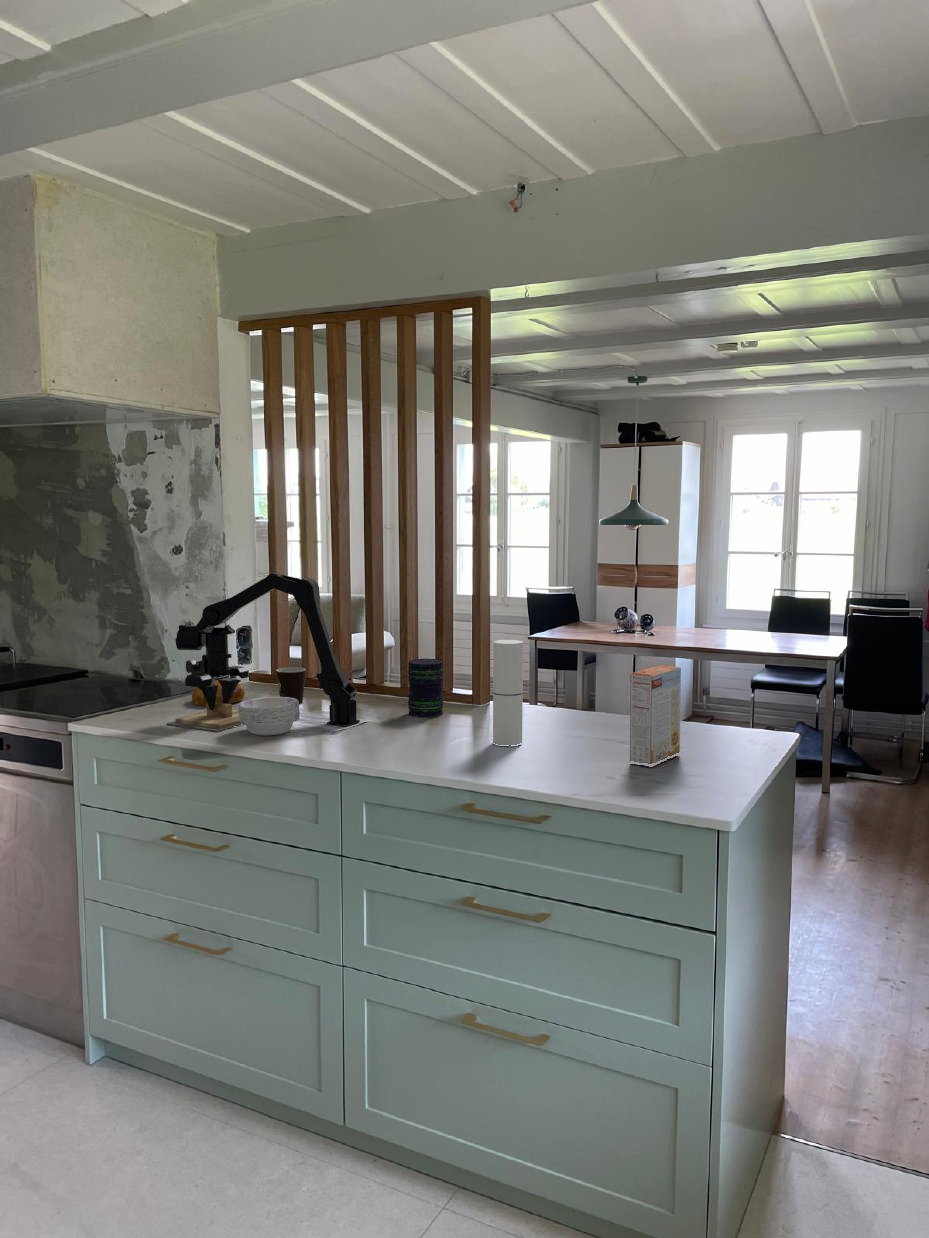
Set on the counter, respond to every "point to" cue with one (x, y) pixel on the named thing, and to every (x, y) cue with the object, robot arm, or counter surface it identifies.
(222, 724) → the oak lid
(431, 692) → the storage jar
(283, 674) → the coffee mug
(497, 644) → the cylindrical container
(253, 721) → the paper bowls
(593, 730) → the counter surface
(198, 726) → the mat
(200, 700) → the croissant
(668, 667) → the cracker box
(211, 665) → the robot arm
